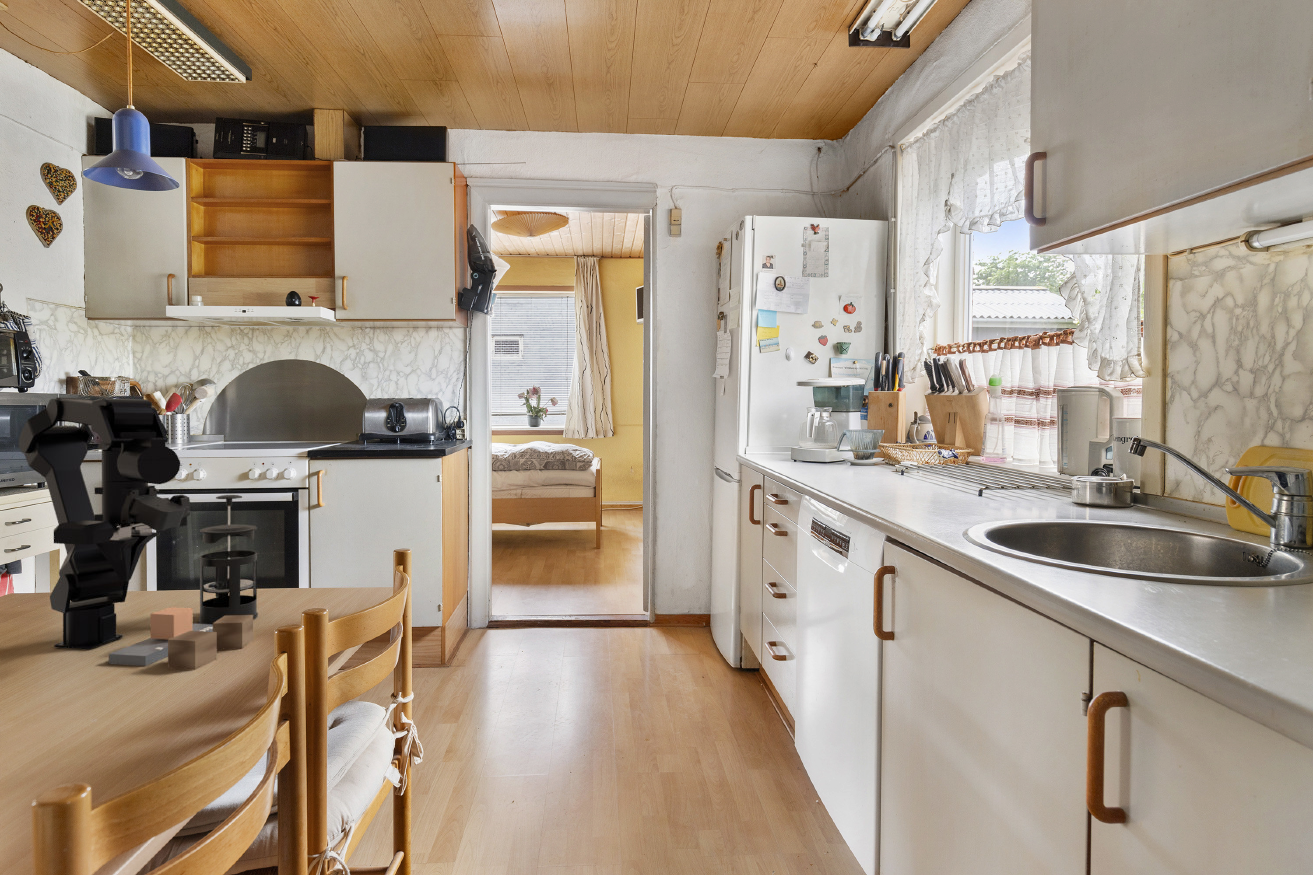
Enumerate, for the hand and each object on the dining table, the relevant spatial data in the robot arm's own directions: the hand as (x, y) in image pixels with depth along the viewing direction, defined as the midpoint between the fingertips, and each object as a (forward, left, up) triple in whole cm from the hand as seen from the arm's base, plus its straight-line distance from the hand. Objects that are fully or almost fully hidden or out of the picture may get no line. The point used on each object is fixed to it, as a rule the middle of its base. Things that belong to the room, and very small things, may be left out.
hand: (125, 580), depth 110 cm
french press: (+1, +22, -12) cm, 25 cm away
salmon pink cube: (+3, +6, -10) cm, 12 cm away
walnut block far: (+12, +8, -12) cm, 19 cm away
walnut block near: (+12, -1, -12) cm, 17 cm away
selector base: (+3, +5, -12) cm, 13 cm away
